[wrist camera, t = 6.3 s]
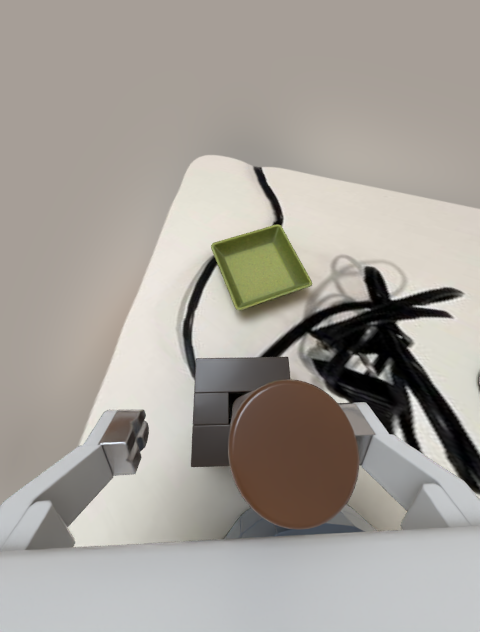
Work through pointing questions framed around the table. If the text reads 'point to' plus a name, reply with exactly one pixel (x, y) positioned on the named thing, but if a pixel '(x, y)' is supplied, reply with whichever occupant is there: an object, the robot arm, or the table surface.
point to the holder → (225, 400)
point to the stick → (292, 453)
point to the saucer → (259, 266)
